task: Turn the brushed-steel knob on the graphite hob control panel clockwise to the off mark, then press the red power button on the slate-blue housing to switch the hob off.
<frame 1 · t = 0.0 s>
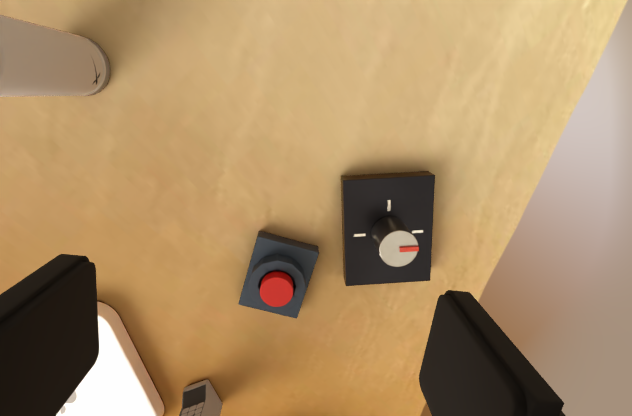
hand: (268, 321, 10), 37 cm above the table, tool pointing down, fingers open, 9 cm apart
power button: (276, 288, 46), point 5 cm above the table, slide at 0.1 cm
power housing: (278, 271, 50), on the table
hob knob: (393, 241, 44), point 5 cm above the table, hinge at 90.0°
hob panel: (384, 226, 49), on the table
vintage mobile phone: (204, 393, 56), on the table
computer: (70, 378, 54), on the table
travel mug: (84, 65, 42), on the table
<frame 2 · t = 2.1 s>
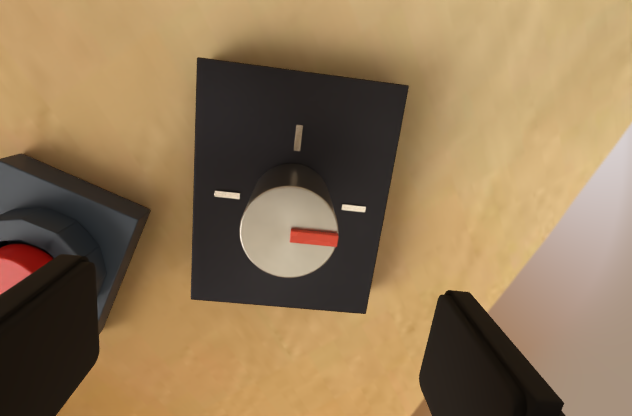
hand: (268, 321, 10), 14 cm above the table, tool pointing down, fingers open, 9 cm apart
power button: (15, 283, 20), point 5 cm above the table, slide at 0.1 cm
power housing: (65, 249, 24), on the table
hob knob: (290, 216, 19), point 5 cm above the table, hinge at 90.0°
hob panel: (292, 189, 24), on the table
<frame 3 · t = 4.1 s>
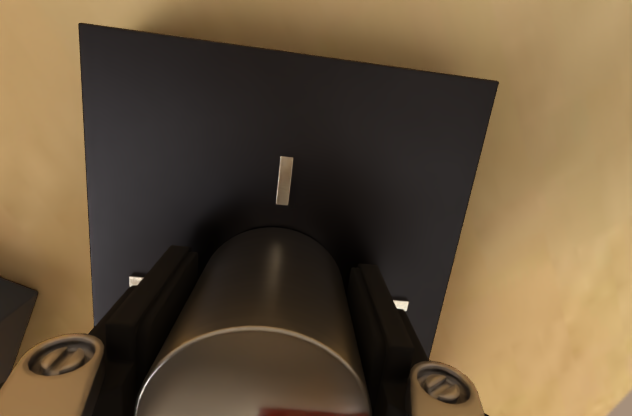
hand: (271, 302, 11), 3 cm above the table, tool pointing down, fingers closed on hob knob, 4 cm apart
hob knob: (265, 348, 9), point 5 cm above the table, hinge at 90.0°, touching gripper
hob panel: (277, 258, 14), on the table
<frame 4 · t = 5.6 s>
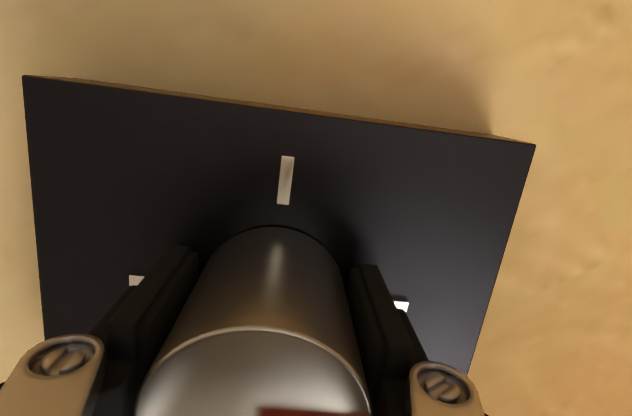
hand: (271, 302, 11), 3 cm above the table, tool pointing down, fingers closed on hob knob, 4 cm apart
hob knob: (265, 347, 9), point 5 cm above the table, hinge at -0.3°, touching gripper
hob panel: (277, 257, 14), on the table
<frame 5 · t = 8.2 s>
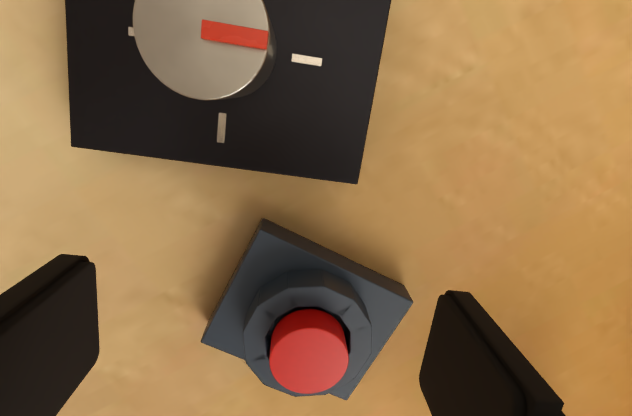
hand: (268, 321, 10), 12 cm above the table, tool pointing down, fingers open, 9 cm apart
power button: (308, 350, 20), point 5 cm above the table, slide at 0.1 cm
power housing: (306, 304, 24), on the table
hob knob: (216, 39, 14), point 5 cm above the table, hinge at -0.5°
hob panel: (236, 52, 19), on the table
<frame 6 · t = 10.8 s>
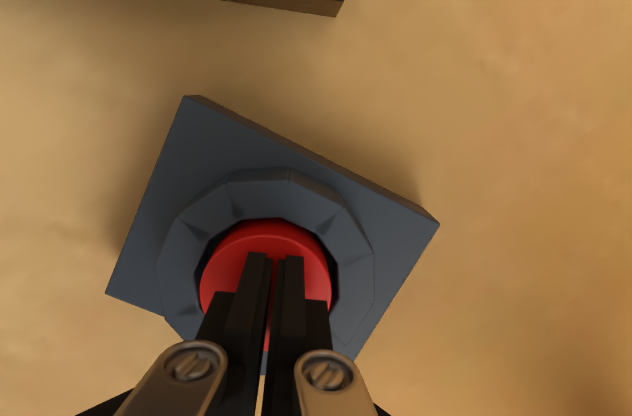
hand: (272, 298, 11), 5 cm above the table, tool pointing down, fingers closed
power button: (268, 282, 12), point 4 cm above the table, slide at -0.6 cm, touching gripper
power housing: (274, 239, 16), on the table
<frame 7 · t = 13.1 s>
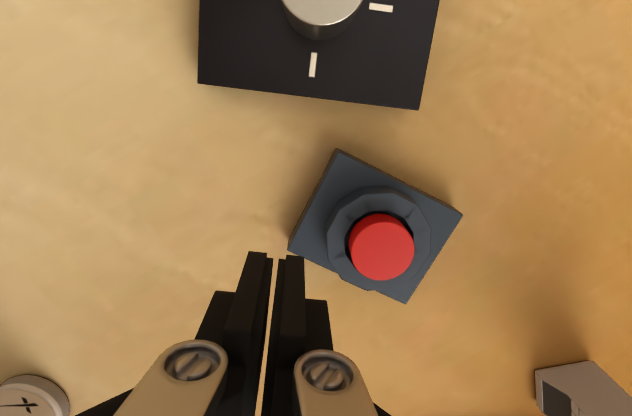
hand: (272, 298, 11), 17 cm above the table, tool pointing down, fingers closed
power button: (380, 246, 24), point 5 cm above the table, slide at 0.1 cm
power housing: (370, 223, 29), on the table
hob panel: (319, 9, 24), on the table
vintage mobile phone: (560, 379, 33), on the table
travel mug: (35, 399, 33), on the table
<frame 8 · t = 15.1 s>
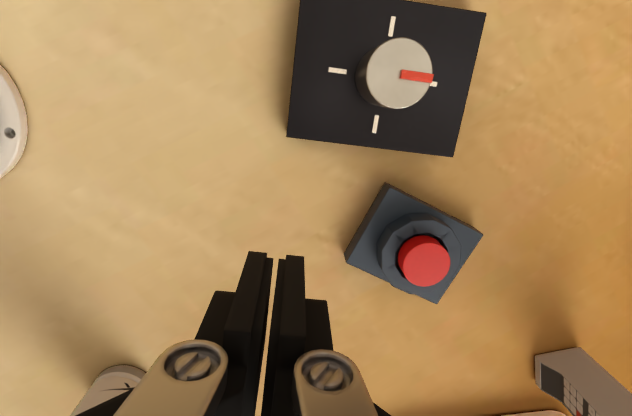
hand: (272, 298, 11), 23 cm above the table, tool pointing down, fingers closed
power button: (423, 260, 32), point 5 cm above the table, slide at 0.1 cm
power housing: (408, 240, 36), on the table
hob knob: (391, 75, 27), point 5 cm above the table, hinge at -0.5°
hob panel: (376, 78, 32), on the table
vintage mobile phone: (554, 362, 41), on the table
travel mug: (126, 385, 40), on the table
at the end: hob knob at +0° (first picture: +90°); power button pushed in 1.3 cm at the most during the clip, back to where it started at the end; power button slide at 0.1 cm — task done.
